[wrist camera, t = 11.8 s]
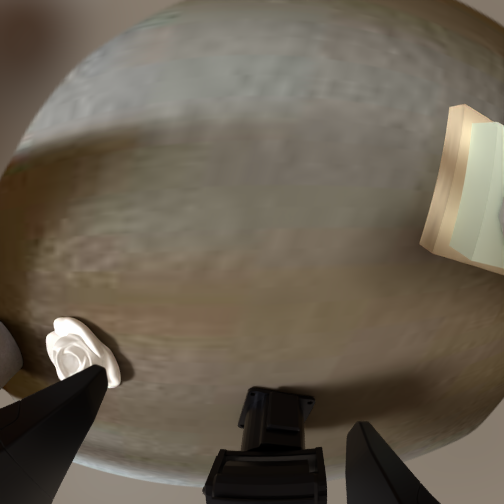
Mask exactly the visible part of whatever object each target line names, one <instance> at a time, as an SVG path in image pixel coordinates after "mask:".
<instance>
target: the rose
mask: <svg viewBox="0 0 504 504" xmlns="http://www.w3.org/2000/svg"><path fill="white" fill-rule="evenodd" d="M54 328H55V331H53V332H51V333H50V334H48V335H47V337H46V346H47V351H48V355H49V357H50V359H51V361H52V362H53V363H54V365H55V367H56V370H57V374H58V377H59V378H60V380H63V379H65V378H67V377H69V376H71V375H73V374H75V373H77V372H79V371H81V370H84V369H86V368H88V367H90V366H92V365H94V364H98V365H100V366H102V367H104V368H105V369H106V372H107V378H108V388H115V387H116V386H117V385H119V384H120V382H121V376H120V370H119V366H118V364H117V361H116V359H115V357H114V355H113V353H112V352H111V350H110V349H109V348H108V347H107V346H106V345H104V344H103V343H102V342H101V341H100V340H99V339H98V338H97V337H96V336H95V335H94V333H93V332H92V331H91V330H90V329H89V328H88V327H87V326H86V325H85V324H83V323H82V322H80V321H79V320H77V319H75V318H72V317H60V318H57V319H56V320H55V321H54Z"/></svg>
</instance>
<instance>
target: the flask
mask: <svg viewBox="0 0 504 504" xmlns="http://www.w3.org/2000/svg"><path fill="white" fill-rule="evenodd" d="M498 217H499V220H500V224H501V228H502V232H503V236H504V199H503V202H502V205H501V209H500V212H499V215H498Z"/></svg>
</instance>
